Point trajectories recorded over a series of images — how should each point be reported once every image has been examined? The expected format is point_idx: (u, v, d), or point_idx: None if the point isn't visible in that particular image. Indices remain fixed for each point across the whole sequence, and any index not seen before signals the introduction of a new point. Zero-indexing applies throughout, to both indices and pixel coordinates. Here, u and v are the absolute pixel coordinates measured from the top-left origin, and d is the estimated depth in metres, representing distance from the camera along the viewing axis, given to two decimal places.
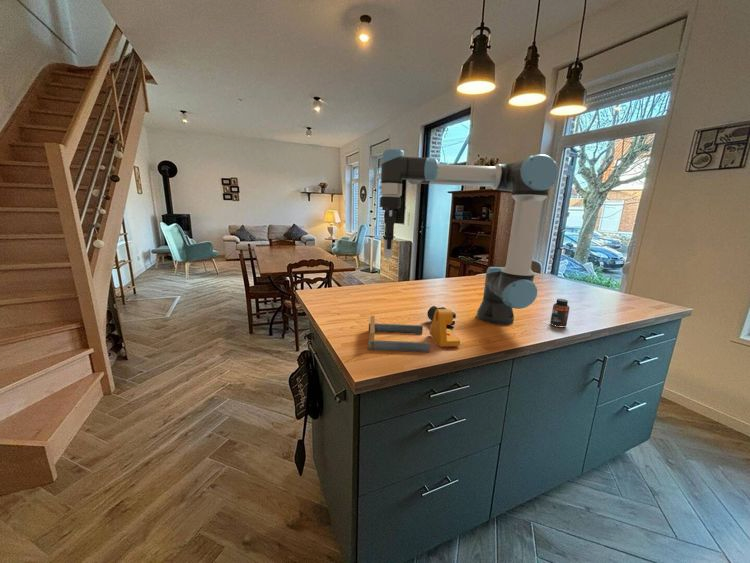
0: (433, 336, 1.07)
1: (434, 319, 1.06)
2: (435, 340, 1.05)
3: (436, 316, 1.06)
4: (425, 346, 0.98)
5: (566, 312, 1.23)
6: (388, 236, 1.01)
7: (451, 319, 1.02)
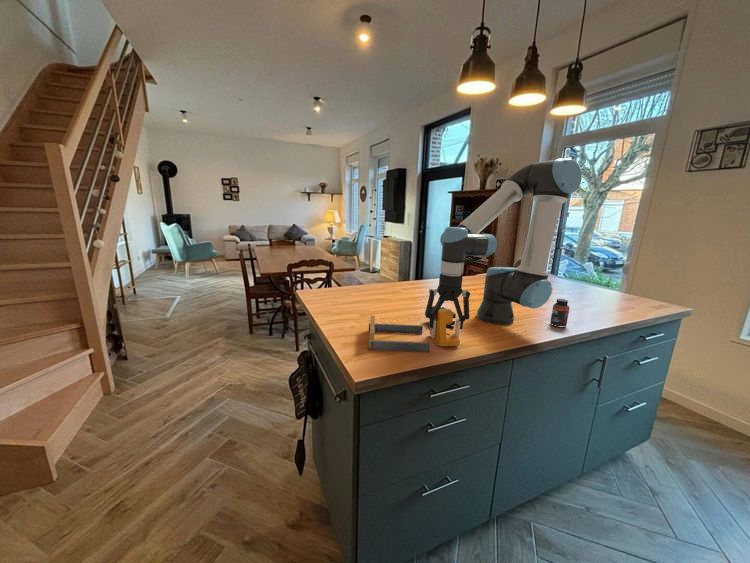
0: None
1: None
2: (435, 340, 1.05)
3: (436, 316, 1.06)
4: (425, 346, 0.98)
5: (566, 312, 1.23)
6: (425, 314, 1.05)
7: (451, 318, 1.02)
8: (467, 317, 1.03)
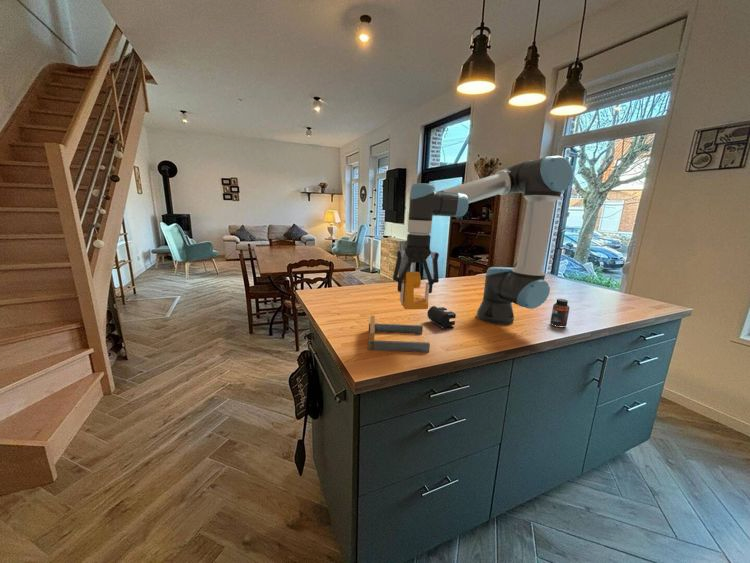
0: None
1: None
2: (403, 304, 1.01)
3: (404, 279, 1.02)
4: (425, 346, 0.98)
5: (566, 312, 1.23)
6: (393, 277, 1.01)
7: (419, 281, 0.98)
8: (436, 280, 0.99)
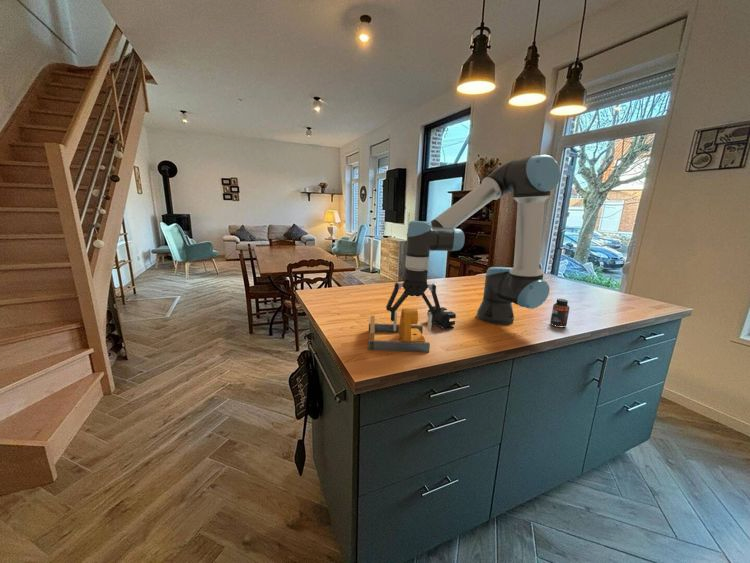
0: (400, 336, 1.06)
1: (401, 319, 1.05)
2: (401, 340, 1.04)
3: (402, 315, 1.05)
4: (425, 346, 0.98)
5: (566, 312, 1.23)
6: (386, 307, 1.03)
7: (416, 318, 1.01)
8: (438, 310, 1.02)
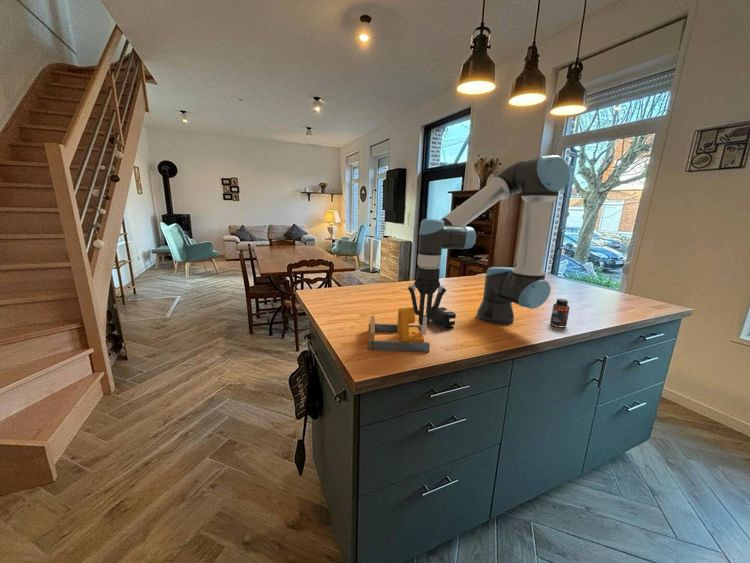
0: (399, 335, 1.06)
1: (398, 319, 1.05)
2: (400, 339, 1.04)
3: (400, 315, 1.05)
4: (425, 346, 0.98)
5: (566, 312, 1.23)
6: None
7: (413, 317, 1.01)
8: (434, 313, 1.02)
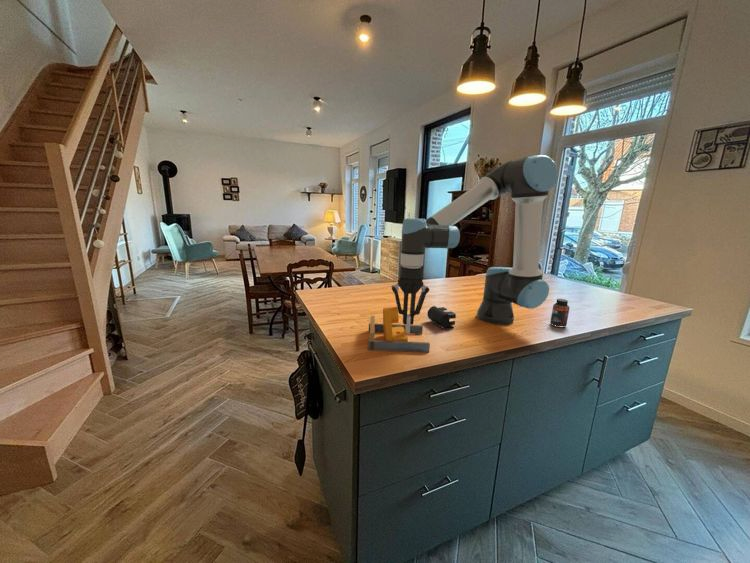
0: (384, 335, 1.06)
1: (383, 318, 1.05)
2: (385, 339, 1.04)
3: None
4: (425, 346, 0.98)
5: (566, 312, 1.23)
6: None
7: (397, 317, 1.01)
8: (417, 312, 1.02)
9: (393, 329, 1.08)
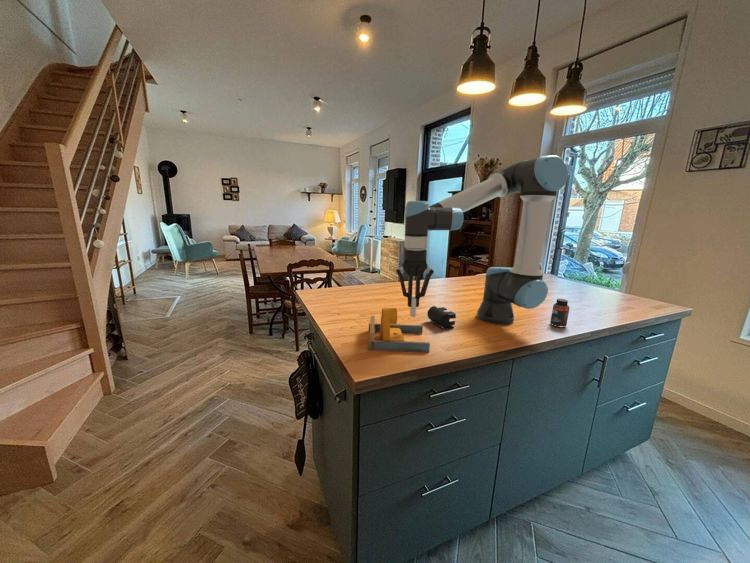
0: None
1: (381, 318, 1.05)
2: (381, 339, 1.04)
3: (383, 315, 1.05)
4: (425, 346, 0.98)
5: (566, 312, 1.23)
6: None
7: (395, 318, 1.01)
8: (423, 294, 1.03)
9: (390, 330, 1.08)
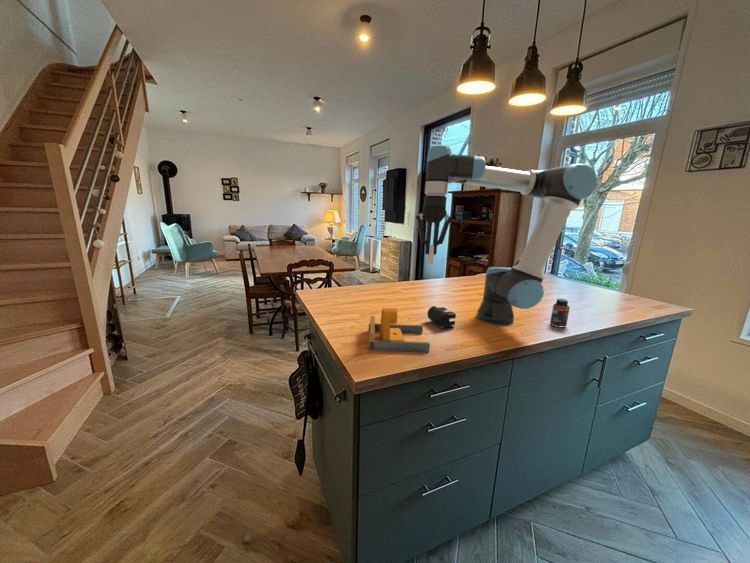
0: None
1: (381, 318, 1.05)
2: (381, 339, 1.04)
3: (383, 315, 1.05)
4: (425, 346, 0.98)
5: (566, 312, 1.23)
6: (421, 241, 1.07)
7: (395, 318, 1.01)
8: (441, 241, 1.05)
9: (390, 330, 1.08)
